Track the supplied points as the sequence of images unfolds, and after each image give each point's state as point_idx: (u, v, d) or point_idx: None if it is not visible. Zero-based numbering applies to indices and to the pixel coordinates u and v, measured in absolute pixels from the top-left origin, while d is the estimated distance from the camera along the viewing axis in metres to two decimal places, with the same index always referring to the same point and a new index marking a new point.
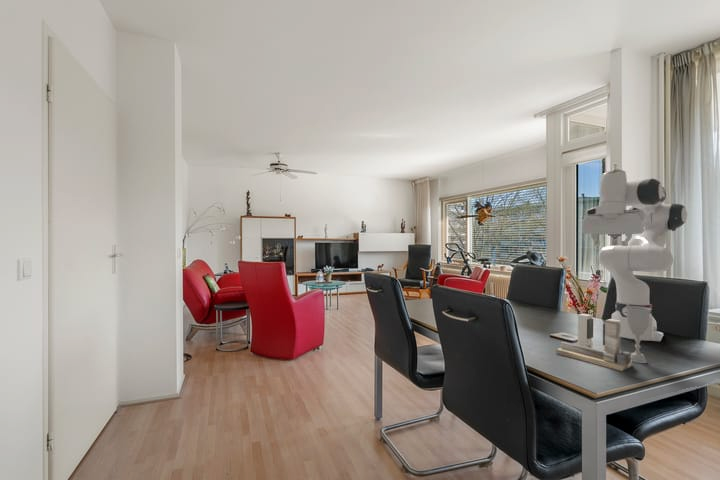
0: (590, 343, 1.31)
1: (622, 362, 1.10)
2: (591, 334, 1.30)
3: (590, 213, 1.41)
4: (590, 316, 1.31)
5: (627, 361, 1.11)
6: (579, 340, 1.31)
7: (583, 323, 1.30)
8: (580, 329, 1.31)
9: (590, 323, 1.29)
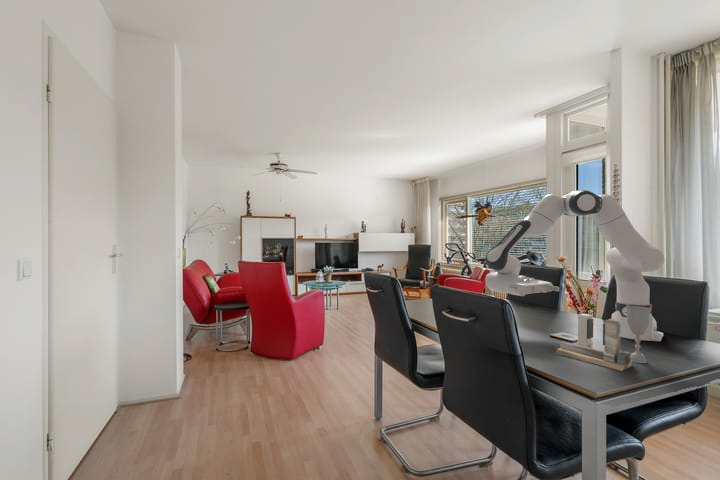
0: (590, 343, 1.31)
1: (622, 362, 1.10)
2: (591, 334, 1.30)
3: None
4: (590, 316, 1.31)
5: (627, 361, 1.11)
6: (579, 340, 1.31)
7: (583, 323, 1.30)
8: (580, 329, 1.31)
9: (590, 323, 1.29)
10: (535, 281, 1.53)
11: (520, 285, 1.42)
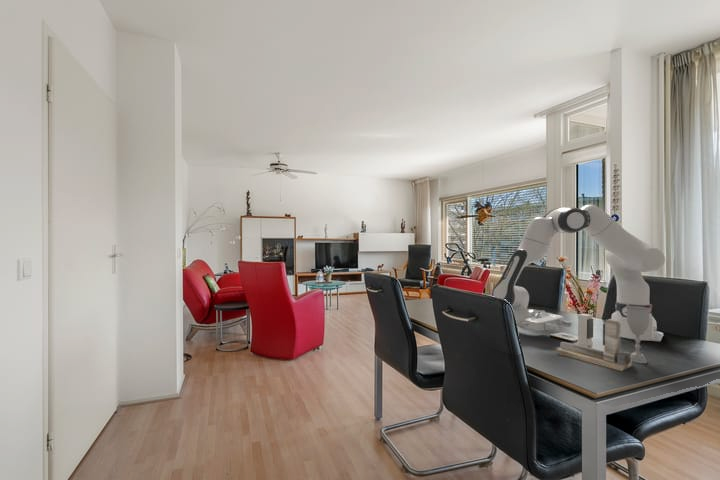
0: (590, 343, 1.31)
1: (622, 362, 1.10)
2: (591, 334, 1.30)
3: None
4: (590, 316, 1.31)
5: (627, 361, 1.11)
6: (579, 340, 1.31)
7: (583, 323, 1.30)
8: (580, 329, 1.31)
9: (590, 323, 1.29)
10: (546, 315, 1.49)
11: (531, 322, 1.39)
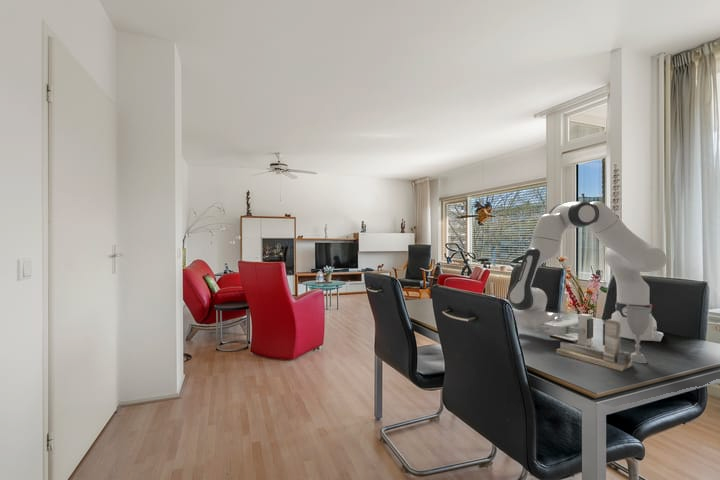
0: (590, 343, 1.31)
1: (622, 362, 1.10)
2: (591, 334, 1.30)
3: None
4: (590, 316, 1.31)
5: (627, 361, 1.11)
6: (579, 340, 1.31)
7: (583, 323, 1.30)
8: None
9: (590, 323, 1.29)
10: (566, 318, 1.43)
11: (552, 326, 1.32)
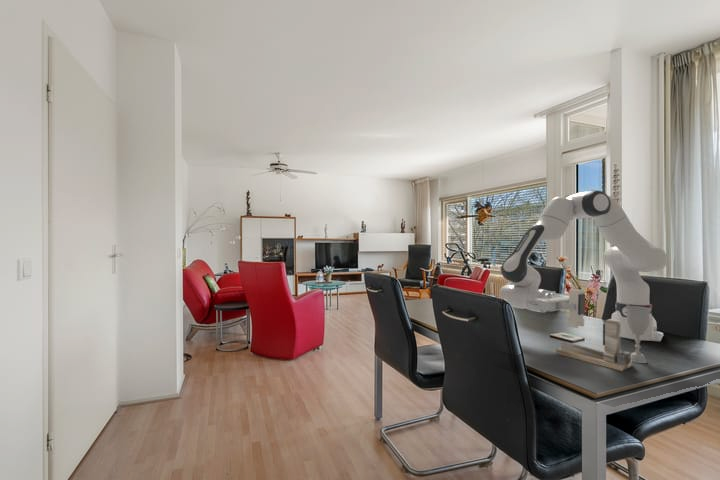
0: (581, 320, 1.23)
1: (622, 362, 1.10)
2: (582, 310, 1.22)
3: None
4: (582, 291, 1.23)
5: (627, 361, 1.11)
6: (570, 316, 1.24)
7: (574, 298, 1.22)
8: None
9: (582, 298, 1.22)
10: (557, 295, 1.35)
11: (541, 301, 1.24)
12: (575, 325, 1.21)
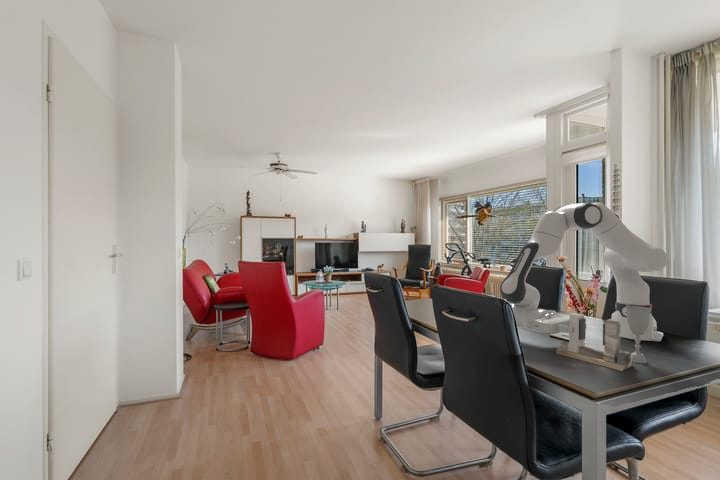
0: (582, 344, 1.23)
1: (622, 362, 1.10)
2: (583, 335, 1.22)
3: None
4: (582, 316, 1.23)
5: (627, 361, 1.11)
6: (570, 341, 1.23)
7: (575, 323, 1.22)
8: None
9: (582, 323, 1.22)
10: (557, 315, 1.35)
11: (541, 323, 1.24)
12: (576, 350, 1.21)
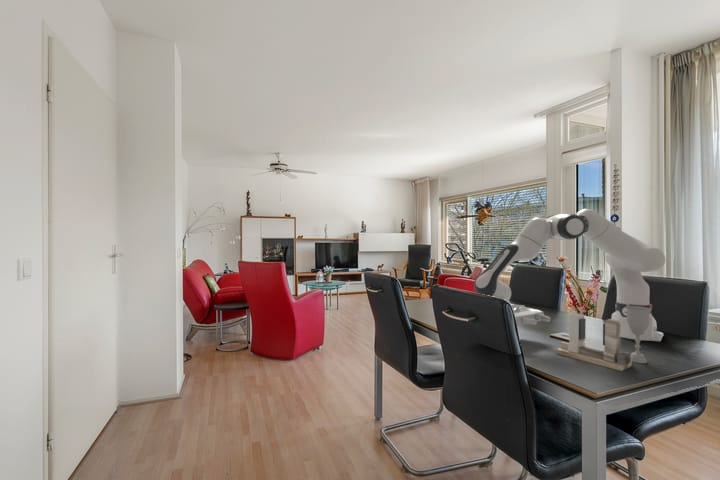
0: (582, 344, 1.23)
1: (622, 362, 1.10)
2: (583, 335, 1.22)
3: None
4: (582, 316, 1.23)
5: (627, 361, 1.11)
6: (570, 341, 1.23)
7: (575, 323, 1.22)
8: (571, 329, 1.23)
9: (582, 323, 1.22)
10: (525, 309, 1.45)
11: None
12: (576, 350, 1.21)
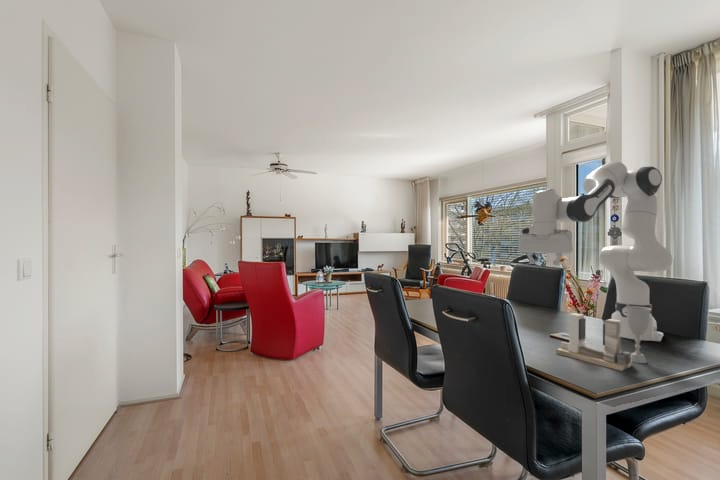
0: (582, 344, 1.23)
1: (622, 362, 1.10)
2: (583, 335, 1.22)
3: (524, 232, 1.43)
4: (582, 316, 1.23)
5: (627, 361, 1.11)
6: (570, 341, 1.23)
7: (575, 323, 1.22)
8: (571, 329, 1.23)
9: (582, 323, 1.22)
10: None
11: (571, 244, 1.32)
12: (576, 350, 1.21)
